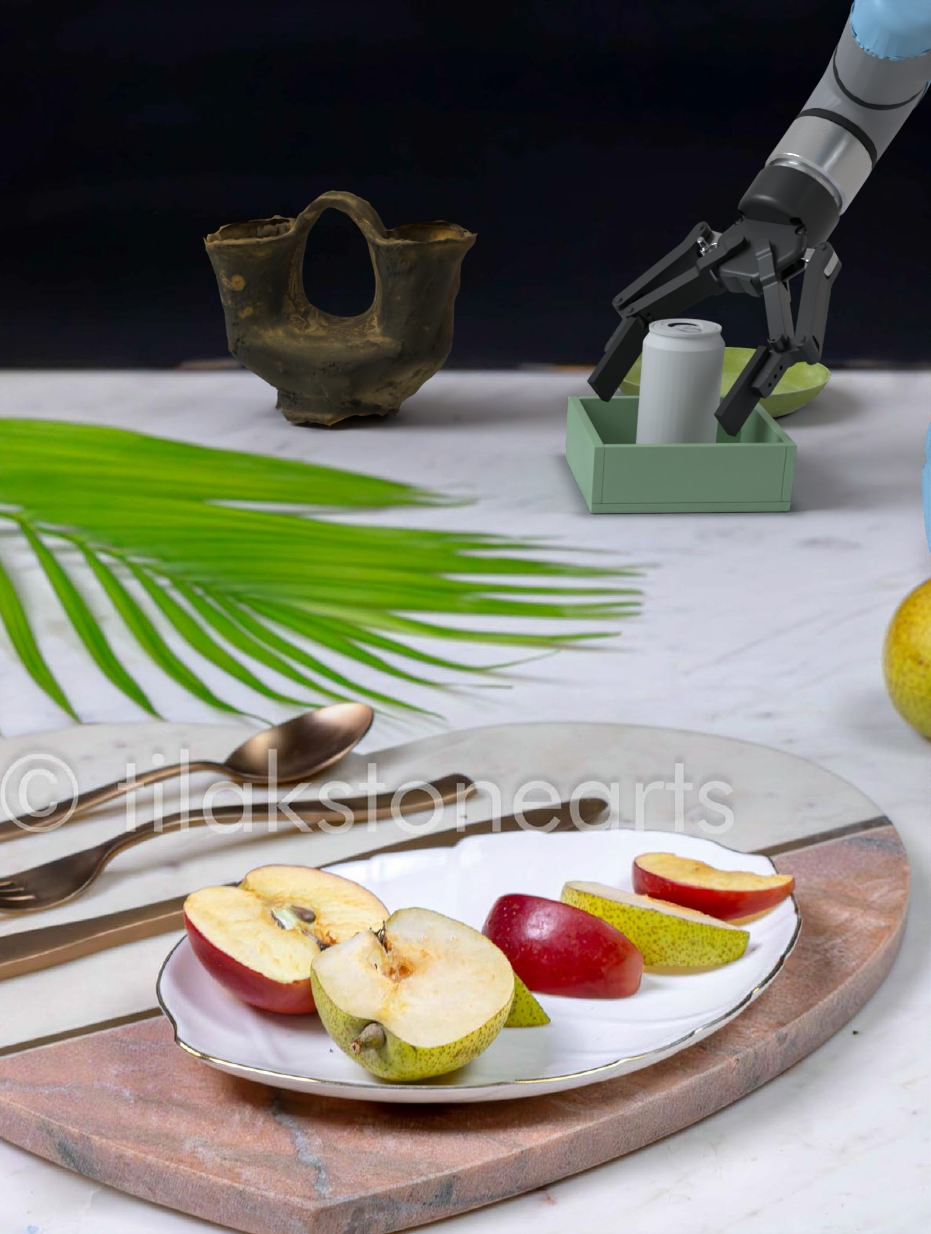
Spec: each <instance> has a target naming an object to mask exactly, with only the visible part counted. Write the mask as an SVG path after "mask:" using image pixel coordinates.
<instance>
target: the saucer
mask: <svg viewBox="0 0 931 1234" xmlns="http://www.w3.org/2000/svg"><path fill="white" fill-rule="evenodd" d="M756 349H757V348H749V347H748V348H747V347H746V348H745V347H733V346H730V347H729V346H728V347H727V346H725V350H724V361H723V372H722V383H721V393H720V395H727V393H728V392H729V390H730V389H731V387H732V386H733V384H734V383H735V381H736V380H737V378H738V377H739V375H740V374H741V372H742V371H743V369H744V368H745V366H746V365H747V363H748V362H749V360H750V359H751V357H752V356H753V354H754V353H755V351H756ZM641 366H642V353H641V354H640V356H639V357H638V359H637V360H636V362H635V363H634V365H633V366H632V368H631V369H630V371H629V372H628V374H627V375H626V377H625V378H624V380H623V381H622V383H621V384H620V386H619V387H618V389H619V390H620V391H621V392H622V393H623V395H624V396H639V394H640V380H641ZM831 378H832V373H831V371H830V369H829V368H827V367H826V366H825V365H823V364H821V363H819V362H818V363H816V364H814V365H808V364H807V363H806V362H799V363H796V364H795V365H794V366H792V367H790V368H788V369H787V370H786V372H785V373H784V375H783V377H782V378H781V380H780V381H779V383H778V384H777V386H776V387H775V389H774V390H773V392H772V393H771V394H770V395H769V396H768V397H767V398H766V399H764V398H761V399H760V400H759V402H758V403H759V404H760V405H761V406H762V407H763V408H764V409H765V410H766V411H767V413H768V414H769V415H770V416H771V417H772V418H773V419H774V418H777V417H778V418H779V417H781V416H786V415H789V414H792V413H794V412H796V411H798V410H800V409H802V408H803V407H804V406H806V405H807V404H809V402H811V401H812V400H814V398H816V397H817V396H818V395H819V394H820V392H821V391H822V390H823V389H824V388H825V387H826V385H827V384H828V383H829V381H830V379H831Z"/></svg>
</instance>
